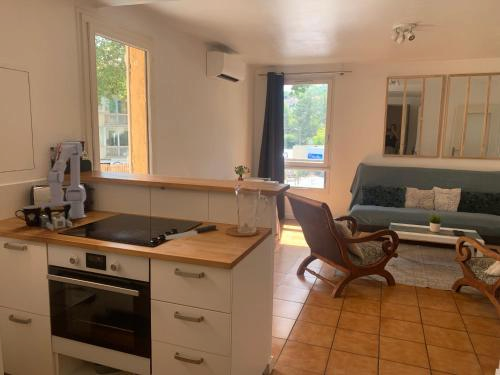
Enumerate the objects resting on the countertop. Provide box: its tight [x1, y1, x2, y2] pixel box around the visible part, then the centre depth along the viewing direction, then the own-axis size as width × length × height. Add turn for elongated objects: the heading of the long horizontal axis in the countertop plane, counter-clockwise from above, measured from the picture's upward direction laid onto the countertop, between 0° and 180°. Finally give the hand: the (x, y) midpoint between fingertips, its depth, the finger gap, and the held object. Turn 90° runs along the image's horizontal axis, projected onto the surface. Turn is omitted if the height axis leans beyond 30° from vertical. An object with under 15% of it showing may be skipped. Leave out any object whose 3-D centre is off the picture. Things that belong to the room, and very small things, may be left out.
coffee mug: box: [14, 205, 42, 228], centre depth 204 cm, size 12×9×10 cm
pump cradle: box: [45, 220, 73, 231], centre depth 200 cm, size 9×11×2 cm
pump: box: [52, 216, 66, 230], centre depth 200 cm, size 6×5×6 cm
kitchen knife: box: [165, 224, 217, 241], centre depth 188 cm, size 29×3×5 cm
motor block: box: [38, 211, 71, 229], centre depth 205 cm, size 6×14×6 cm, turn 133°
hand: (58, 220), depth 200 cm, fingers open, 7 cm apart
